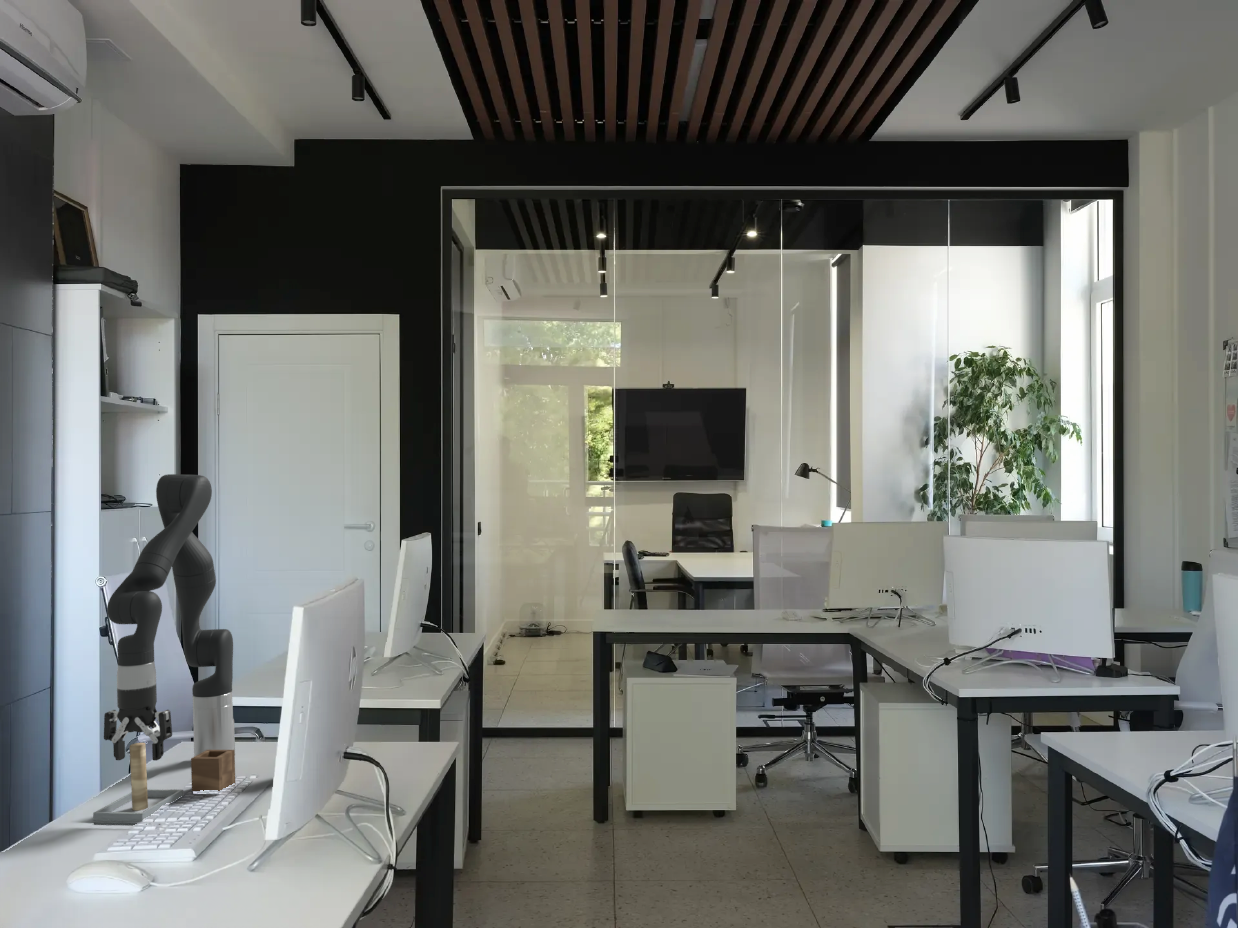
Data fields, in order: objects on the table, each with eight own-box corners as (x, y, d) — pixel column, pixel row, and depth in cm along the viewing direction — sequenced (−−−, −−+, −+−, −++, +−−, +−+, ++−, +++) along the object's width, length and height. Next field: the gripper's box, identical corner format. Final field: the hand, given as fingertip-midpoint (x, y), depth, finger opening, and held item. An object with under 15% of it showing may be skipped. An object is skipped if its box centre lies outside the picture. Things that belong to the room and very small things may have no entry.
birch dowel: (138, 806, 200) (135, 742, 200) (151, 806, 200) (148, 742, 200) (129, 812, 197) (126, 746, 197) (142, 812, 197) (139, 746, 197)
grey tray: (137, 799, 207) (137, 788, 207) (183, 800, 205) (183, 789, 205) (93, 824, 192) (93, 812, 192) (142, 825, 191) (142, 813, 191)
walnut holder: (208, 788, 213) (207, 749, 213) (235, 788, 212) (234, 749, 212) (192, 798, 206) (190, 758, 206) (219, 799, 206) (218, 758, 206)
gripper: (178, 679, 202) (179, 754, 202) (117, 680, 204) (119, 753, 203) (156, 688, 194) (158, 765, 194) (94, 688, 196) (96, 764, 196)
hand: (138, 759), depth 199 cm, fingers open, 8 cm apart
